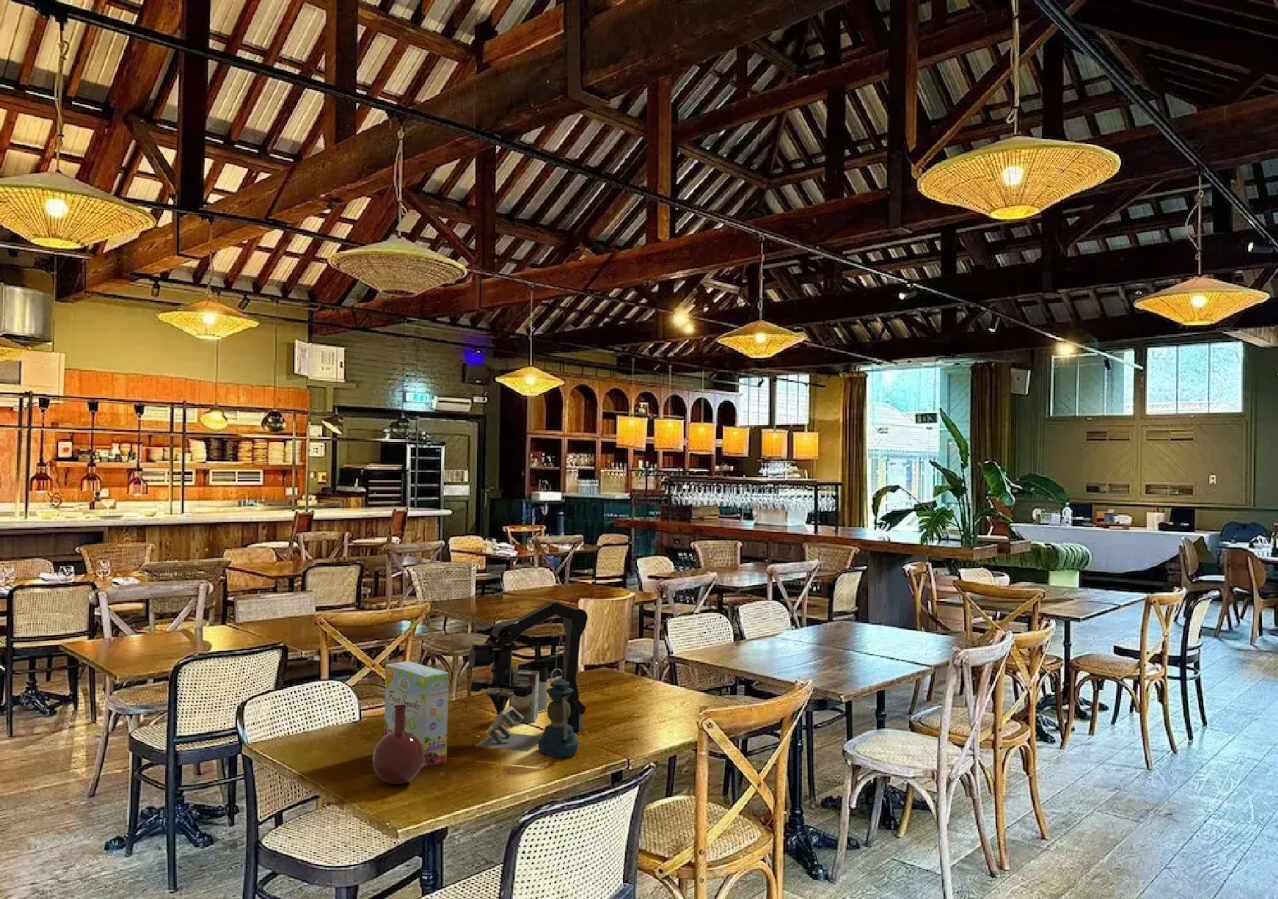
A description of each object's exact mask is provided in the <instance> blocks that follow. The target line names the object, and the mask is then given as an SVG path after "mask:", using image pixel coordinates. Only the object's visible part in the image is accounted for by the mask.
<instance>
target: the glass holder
mask: <svg viewBox="0 0 1278 899" xmlns="http://www.w3.org/2000/svg"><path fill="white" fill-rule="evenodd" d="M525 670H528V671H539V691H538V711H542V710H545V709H547V708H548V704H549V702H548V701H549V700H550V699H551V697H550V696H548V693H547V691H546V690H547V689H548V683H549V682H550V683H551V682H552V679H553V674H554V672H555V668H554V669H553V670H552V671H551V673H550V679H549V680H548V665H545V664H529V665H527V666H526V668H525ZM557 670H558V671H560V673H561V674H560V675H562V669H560V668H556V671H557Z"/></svg>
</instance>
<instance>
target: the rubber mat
mask: <svg viewBox="0 0 1278 899" xmlns="http://www.w3.org/2000/svg"><path fill="white" fill-rule="evenodd" d="M495 732H496V733H497V734H498V735H499V736H500V737H501V738H502V739H503V741H502V742H501V743H500V744H498V743H497V742H496V741H495V740H494V739H493V738H492V737H491V736H490V735H489V736H488V737H486V738H485V739H484V740H482V741H480V742H479V743H477V744H476V745H475V747H482V748H489V749H491V748H492V749H501V750H510V751H520V752H529V751H531V750H532V749H533V748H534V747H536V746H538V742H539V740H540V739H542V736H543V735H542V736H541V735H532V734H523V733H512V732H511V733H512V734H511V736H510V737H509V738H507V737H506V736H505V735H504V734H503V733H501V732H500V731H495Z"/></svg>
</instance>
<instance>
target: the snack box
mask: <svg viewBox="0 0 1278 899" xmlns="http://www.w3.org/2000/svg"><path fill="white" fill-rule="evenodd" d="M384 668H385V670H384V671H385V672H384V674H385V675H384V677H385V678H384V680H385V682H384V684H385V685H384V722H383V723H384V727H383V729H384V731H383V733H384V734H383V737H385V736H386V735H388V734H390V733H393V732H394V726H395V709H394V706H396V705H405V706H406V709H405V728H404V732H408V733H411V734H413V735H414V736H416V737H417V738H418V739H419V741H420V742H421V744H422V746H423V750H424V761H423V765H422V767H421V768H424V769H425V768H429V767H433V766H436V765H439V764H445V763H447V762H448V758H447V757H448V756H447V755H448V754H447V752H448V751H447V750H448V722H449V721H448V717H449V716H448V714H449V711H448V710H449V680H450V679H449V675H450V673H449V672H447V671H444V670H441V669H437V668H434V667H431V666H430V667H429V666H427V665H424V664H420V663H416V662H412V661H410V660H406V661H401V662H393V663H387V664H385V666H384Z"/></svg>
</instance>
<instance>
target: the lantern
mask: <svg viewBox="0 0 1278 899" xmlns="http://www.w3.org/2000/svg"><path fill="white" fill-rule="evenodd" d="M560 644H561V645H562V653H563V658H564V663H565V656H564V649H565V647H564V642H563V635H562V634H560V637H559V642H558V646H557V650H556V657H555V663H557V659H558V656H559V655H558V653H559V649H560ZM554 669H555V671H554V672H555V673H554V680H553V681H550V683H549V685H550V687H549V688H548V687H547V690H546V691H547V696H548V697H551V698H550V699H551V701H550V702H548V704H547V707H548V708H547V711H546V714H547V717H548V719H549V720H550V721H551V722H550V724H547V725H546V726H544V731H543V732H542V739H540V740H539V742H538V744H537V746H538V751H539V753H540V754H541V755H543V756H545V757H552V758H554V759H565V758H570V757H573V756H575V755H576V754H577V751H578V748H579V740H578V739H577V738H576V737H575V734H576V733H574V732H573V727H572V726H570V725H568V723H567V719H568V718H569V716H570V705H569V703H568V702H567V700H568V697H569V696H571V693H572V692H573V689H571V688H567V687H568V686H569V682H567V681H565V680H562V679H561V678H560V679H556V678H557V670H556V669H557V665H555V668H554ZM565 677H566V665H565ZM575 753H576V754H575ZM574 754H575V755H574Z"/></svg>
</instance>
